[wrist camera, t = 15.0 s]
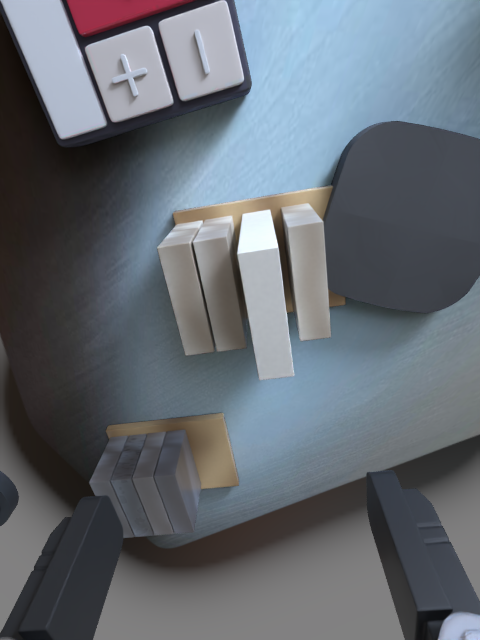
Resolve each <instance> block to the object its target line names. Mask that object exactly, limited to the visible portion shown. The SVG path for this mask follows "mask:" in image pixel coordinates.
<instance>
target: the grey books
mask: <svg viewBox="0 0 480 640" xmlns="http://www.w3.org/2000/svg"><path fill="white" fill-rule="evenodd" d="M106 433H107V435H108V438H109V442H108V444H107V446H106V448H105V450H104V452H103V454H102V456H101V459H100V461H99V463H98V465H97V467H96V469H95V471H94V473H93V476H92V478H91V480H90V482H89V484H90V486H91V487H92V490H93V492H94V494H95V496H102V495H107V496H109V498H110V499H111V502H112V504H113V506H114V508H115V511H116V513H117V515H118V517H119V520H120V522H121V524H122V527H123V538H129V537H134V536H135V537H140V536H153V535H154V534H155V535H168V534H174V532H175V534H180V533H193V532H194V530H195V523H196V516H197V510H198V503H199V496H200V489H207V488H218V487H229V486H239V477H238V473H237V469H236V464H235V460H234V456H233V452H232V447H231V443H230V439H229V434H228V430H227V426H226V422H225V417H224V413H217V414H207V415H198V416H189V417H180V418H171V419H162V420H153V421H144V422H134V423H125V424H116V425H109V426H108V427H107V429H106Z"/></svg>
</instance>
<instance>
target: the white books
mask: <svg viewBox="0 0 480 640" xmlns="http://www.w3.org/2000/svg"><path fill="white" fill-rule="evenodd" d="M332 189H333V186H332V185H329V186H323V187H317V188H311V189H305V190H299V191H293V192H287V193H281V194H275V195H269V196H263V197H257V198H251V199H245V200H239V201H233V202H227V203H221V204H215V205H209V206H203V207H197V208H191V209H185V210H179V211H175V212H174V213H173V217H174V222H175V227H174V228H173V229H172V231H171V232H170V233H169V234H168V235H167V236H166V238H165V239H164V240H163V241H162V242H161V244H160V245H159V246H158V247H157V250H158V254H159V258H160V262H161V265H162V269H163V273H164V277H165V280H166V284H167V288H168V292H169V295H170V299H171V303H172V307H173V310H174V314H175V318H176V322H177V325H178V329H179V333H180V337H181V340H182V344H183V348H184V352H185V355H186V356H188V355H196V354H203V353H211V352H214V351H215V346H216V349H217V352H220V351H228V350H236V349H244V348H247V324H248V313H247V308H246V302H245V296H244V290H243V285H242V279H241V273H240V268H239V262H238V256H237V252H238V244H239V237H240V229H241V222H242V215H243V214H246V213H252V212H258V211H264V210H270V212H271V216H272V221H273V225H274V230H275V235H276V239H277V244H278V249H279V257H280V265H281V273H282V281H283V289H284V297H285V305H286V313H289V312H294V316H295V321H296V325H297V330H298V334H299V338H300V341H307V340H315V339H323V338H330V337H331V328H330V314H329V307H333V306H341V305H345V304H346V300H345V297H344V296H341V295H338V294H335V293H333V292H332V291H330V290H329V289H328V284H327V269H326V254H325V239H324V225H323V217H324V214H325V211H326V207H327V204H328V201H329V198H330V195H331V192H332Z"/></svg>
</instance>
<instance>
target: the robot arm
mask: <svg viewBox="0 0 480 640" xmlns="http://www.w3.org/2000/svg"><path fill="white" fill-rule="evenodd" d="M367 510H368V517H369V522H370V526H371V530H372V533H373V536H374V539H375V543H376V546H377V549H378V553H379V556H380V559H381V562H382V566H383V569H384V572H385V576H386V579H387V582H388V585H389V589H390V592H391V595H392V598H393V602H394V605H395V608H396V612H397V615H398V618H399V622H400V625H401V628H402V631H403V635H404V638H405V640H480V601H479V599H478V597H477V595H476V593H475V591H474V589H473V587H472V585H471V583H470V581H469V579H468V577H467V575H466V573H465V571H464V568H463V566H462V564H461V562H460V560H459V558H458V556H457V554H456V552H455V550H454V548H453V546H452V544H451V542H449V538H448V536H447V534H446V532H445V530H444V528H443V526H442V525H441V522H440V520H439V517H438V516H437V513H436V511H435V510H434V507H433V505H432V504H431V503H430V501H429V500H427V498H426V497H425V496H423V495H422V494H421V493H420V492H419V491H418V490H417V489H416V488H415V489H403V490H402V488H401V486H400V484H399V481H398V479H397V476H396V474H395V472H394V471H393V470H389V471H378V472H367ZM122 544H123V527H122V524H121V522H120V520H119V517H118V515H117V513H116V511H115V508H114V506H113V504H112V502H111V499H110V498H109V496H107V495H102V496H92V497H83V498H82V499H81V500H80V501H79V503H78V504H77V506H76V509H75V511H74V513H73V515H72V517H65V518H64V519H63V520H62V522H61V523H60V524H59V525H58V526H57V527H56V528H55V530H54V531H53V532H52V533H51V534H50V536H49V538H48V541H47V542H46V544H45V546H44V548H43V550H42V555H41V556H39V558H38V560H37V562H36V564H35V566H34V571H32V572H31V574H30V576H29V578H28V580H27V582H26V584H25V586H24V588H23V590H22V592H21V594H20V596H19V598H18V600H17V602H16V604H15V606H14V608H13V610H12V612H11V614H10V616H9V618H8V620H7V622H6V624H5V626H4V628H3V630H2V631H1V633H0V640H93V637H94V634H95V631H96V628H97V625H98V621H99V618H100V615H101V612H102V609H103V605H104V602H105V599H106V596H107V593H108V590H109V586H110V583H111V580H112V577H113V574H114V570H115V567H116V564H117V561H118V558H119V555H120V551H121V548H122Z"/></svg>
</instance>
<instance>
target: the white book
mask: <svg viewBox="0 0 480 640" xmlns="http://www.w3.org/2000/svg"><path fill="white" fill-rule="evenodd" d="M237 256H238V262H239V268H240V273H241V279H242V285H243V290H244V296H245V302H246V308H247V313H248V319H249V325H250V331H251V336H252V342H253V348H254V354H255V359H256V365H257V371H258V376H259V380H267V379H276V378H284V377H293V376H294V369H293V361H292V353H291V345H290V337H289V329H288V321H287V313H286V305H285V297H284V289H283V281H282V273H281V265H280V257H279V249H278V244H277V239H276V235H275V230H274V225H273V221H272V216H271V212H270V210H264V211H258V212H252V213H246V214H243V215H242V222H241V229H240V237H239V244H238V252H237Z"/></svg>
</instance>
